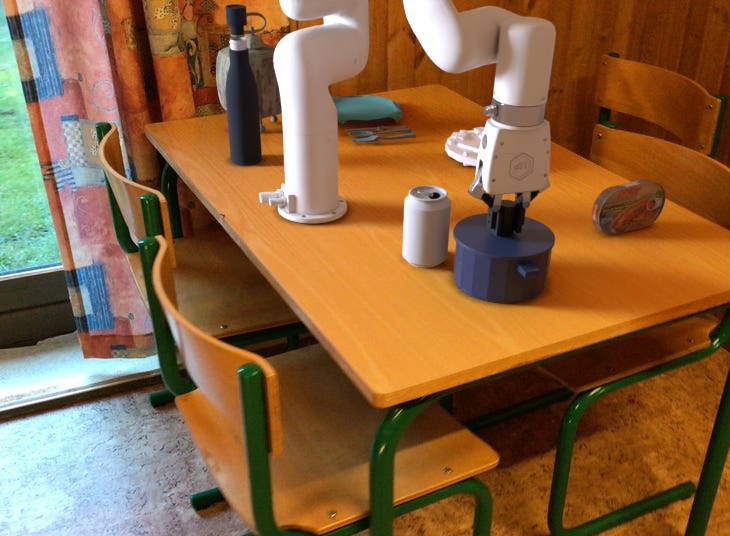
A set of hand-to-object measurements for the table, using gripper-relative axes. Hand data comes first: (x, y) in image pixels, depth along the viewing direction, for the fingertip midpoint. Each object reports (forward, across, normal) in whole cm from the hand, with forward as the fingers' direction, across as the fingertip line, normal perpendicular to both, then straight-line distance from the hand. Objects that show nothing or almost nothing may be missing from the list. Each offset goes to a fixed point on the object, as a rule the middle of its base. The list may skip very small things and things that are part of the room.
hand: (504, 229), depth 129 cm
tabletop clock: (+9, -23, +80) cm, 84 cm away
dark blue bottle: (+9, -29, +62) cm, 69 cm away
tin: (+9, +30, +12) cm, 34 cm away
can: (+9, -9, +10) cm, 16 cm away
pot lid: (+1, 0, 0) cm, 1 cm away
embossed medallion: (+9, +22, +52) cm, 57 cm away
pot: (+9, 0, 0) cm, 9 cm away
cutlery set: (+9, +2, +79) cm, 79 cm away
